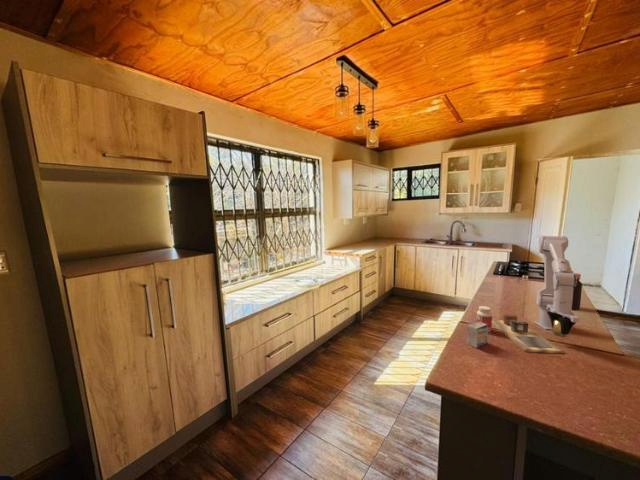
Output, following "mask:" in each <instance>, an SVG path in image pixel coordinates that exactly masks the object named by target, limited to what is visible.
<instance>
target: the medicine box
mask: <svg viewBox="0 0 640 480" xmlns="http://www.w3.org/2000/svg"><path fill="white" fill-rule="evenodd" d="M488 333H489V332H488V325H487V324H485V323H482V322H477V321H476V322H473V323H470V324H468V325H466V344H467V345H469V346H470V347H473V348H474V349H477V348H480V347H482V346H484V345H487V344H488Z"/></svg>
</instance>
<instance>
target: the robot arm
mask: <svg viewBox="0 0 640 480" xmlns="http://www.w3.org/2000/svg"><path fill="white" fill-rule="evenodd" d="M568 247H569V239H568V237H567V236H566V235H564V236H559V235H557V236H556V235H555V236H553V235H552V236H551V235H540V236H539V238H538V253H539V254H542V255H543V258H544V263H543V265H544V274H543V275H544V277H543V278H544V283H543V284H544V287H543V288H541V289H539V290H537V292H536V301H535V303H536V306H537V307H538V308H539V316H538V321H535V320H534V323H535V324H537V325H538V326H539V327H541V328H542V329H544V330H552V331H553V326H554V319H559V321H560V324H561V334H563V335H567V336H568V335H569V334H570V333H571V332H570V331H571V329H572V328H573V326H574V325H575V324H576V323H579V319H580V317H578V316H577V315H575V314H574V312H572V311H573V310H572V299H573V287H575V286H576V284H577V277H576V274H575V273H576V272H574V271H573V270H572V268H571V267H572V266H571V264H570V261H569V260H567V259H566V257H565V251H566V250H567V249H568Z"/></svg>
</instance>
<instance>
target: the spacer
mask: <svg viewBox="0 0 640 480" xmlns="http://www.w3.org/2000/svg"><path fill="white" fill-rule="evenodd" d="M552 334H553V335H554V336H556V337H561V338H567V337H568V335H563V334H561V324H560V321H559V319H554V326H553V330H552Z"/></svg>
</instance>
